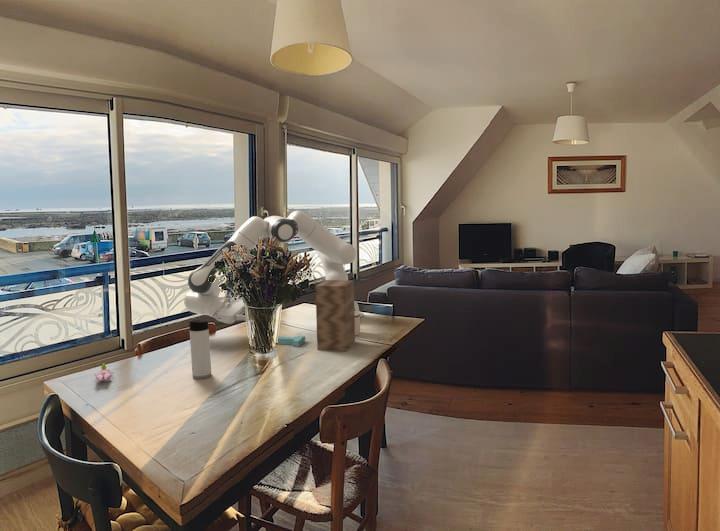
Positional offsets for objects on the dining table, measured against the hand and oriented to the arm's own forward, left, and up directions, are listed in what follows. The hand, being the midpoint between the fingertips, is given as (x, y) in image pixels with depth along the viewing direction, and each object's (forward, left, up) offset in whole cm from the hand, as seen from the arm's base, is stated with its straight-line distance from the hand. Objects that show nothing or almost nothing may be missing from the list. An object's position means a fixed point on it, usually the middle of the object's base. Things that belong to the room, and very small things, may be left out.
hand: (251, 314), depth 219 cm
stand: (-12, +36, -11) cm, 40 cm away
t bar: (-3, +13, -12) cm, 18 cm away
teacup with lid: (-30, +29, -12) cm, 43 cm away
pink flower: (+61, -9, -12) cm, 63 cm away
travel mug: (+41, +17, -12) cm, 46 cm away
